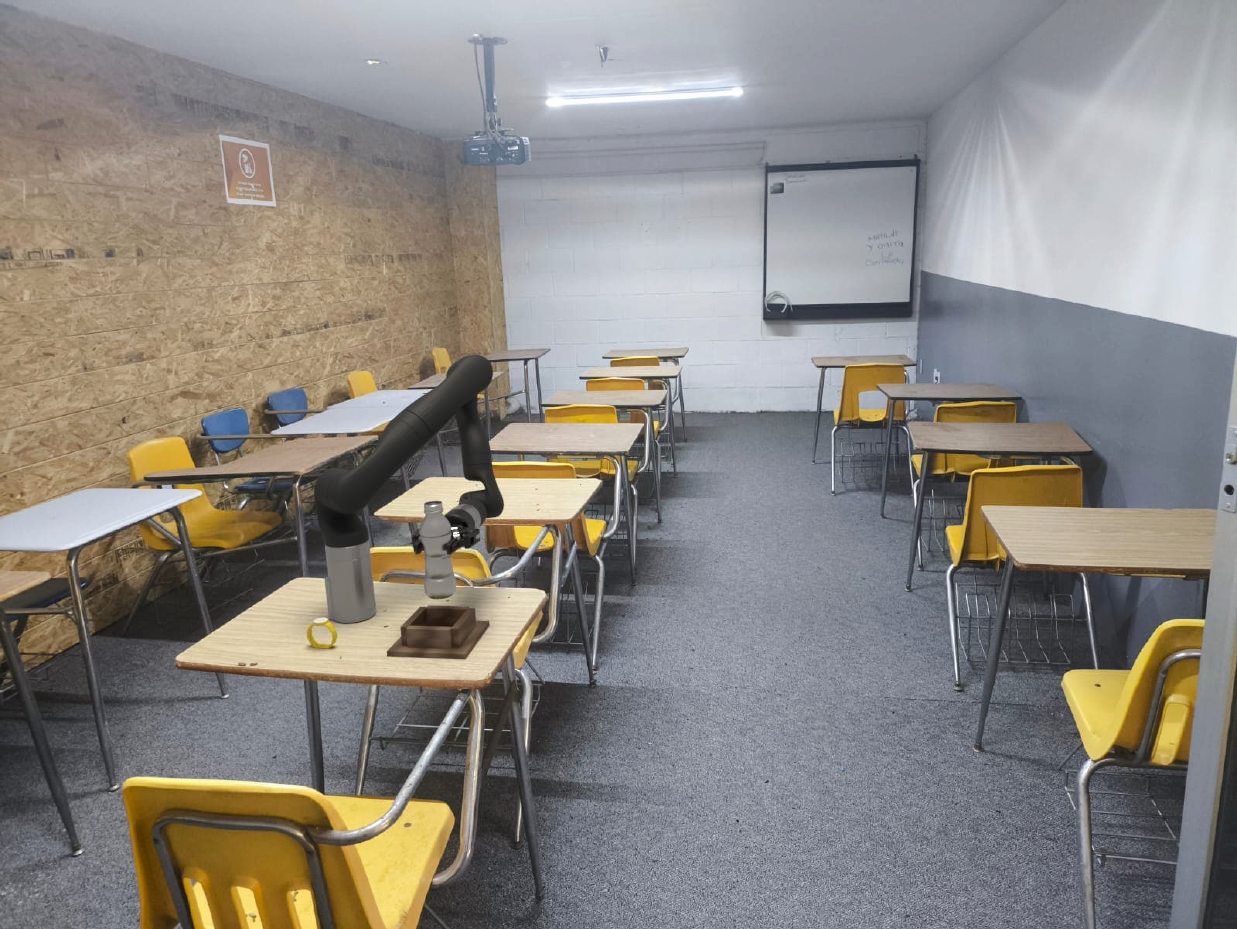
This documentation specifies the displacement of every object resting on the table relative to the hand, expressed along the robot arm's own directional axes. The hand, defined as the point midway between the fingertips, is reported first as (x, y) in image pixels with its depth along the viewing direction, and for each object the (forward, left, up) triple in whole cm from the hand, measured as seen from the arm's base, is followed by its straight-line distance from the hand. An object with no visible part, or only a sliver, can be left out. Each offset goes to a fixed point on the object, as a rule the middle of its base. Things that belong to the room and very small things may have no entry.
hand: (432, 549), depth 157 cm
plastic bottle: (0, +3, -11) cm, 11 cm away
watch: (-23, -4, -20) cm, 31 cm away
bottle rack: (0, +1, -20) cm, 20 cm away
